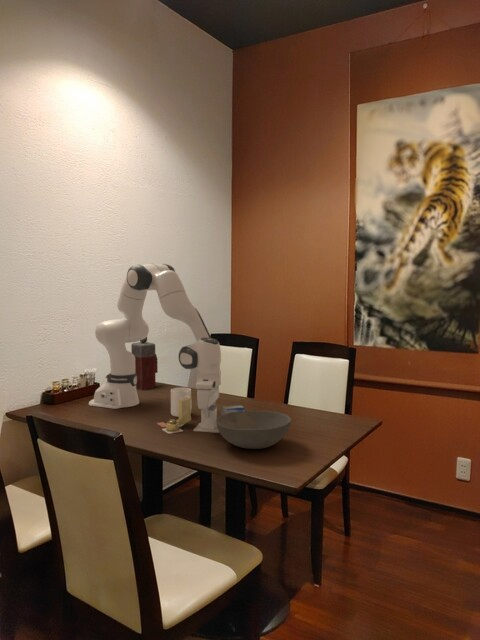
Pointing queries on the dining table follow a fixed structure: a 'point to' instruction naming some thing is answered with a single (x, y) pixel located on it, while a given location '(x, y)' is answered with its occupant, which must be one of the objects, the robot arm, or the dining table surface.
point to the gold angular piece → (180, 415)
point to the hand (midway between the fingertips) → (209, 414)
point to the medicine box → (232, 409)
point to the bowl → (253, 428)
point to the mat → (198, 428)
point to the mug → (176, 396)
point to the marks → (169, 431)
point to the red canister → (145, 364)
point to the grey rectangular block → (209, 418)
